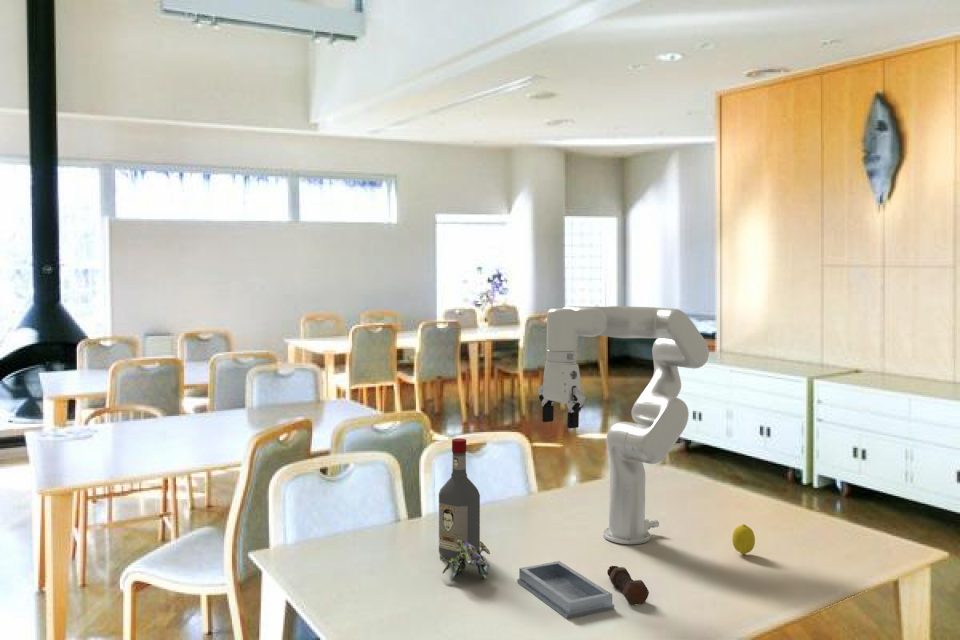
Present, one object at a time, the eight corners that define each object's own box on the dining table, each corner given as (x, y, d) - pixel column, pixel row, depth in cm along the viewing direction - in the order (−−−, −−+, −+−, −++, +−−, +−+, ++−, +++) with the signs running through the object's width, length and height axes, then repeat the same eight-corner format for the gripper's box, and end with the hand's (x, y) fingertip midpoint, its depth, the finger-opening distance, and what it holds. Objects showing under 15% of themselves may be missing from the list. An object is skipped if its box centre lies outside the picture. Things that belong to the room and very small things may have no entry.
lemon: (755, 553, 213) (756, 522, 212) (753, 560, 208) (753, 529, 207) (733, 549, 215) (734, 519, 215) (730, 556, 210) (731, 526, 210)
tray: (561, 574, 198) (561, 560, 198) (614, 608, 179) (614, 593, 178) (517, 582, 193) (517, 568, 193) (567, 619, 173) (567, 603, 173)
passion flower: (482, 600, 196) (500, 570, 190) (439, 599, 192) (457, 567, 186) (473, 561, 205) (490, 530, 198) (432, 558, 201) (448, 527, 194)
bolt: (616, 586, 196) (640, 610, 181) (598, 577, 195) (621, 601, 180) (627, 564, 196) (653, 587, 181) (610, 555, 195) (634, 577, 181)
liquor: (455, 547, 217) (455, 434, 215) (484, 554, 212) (484, 439, 210) (434, 557, 210) (433, 440, 208) (462, 564, 204) (462, 445, 202)
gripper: (596, 359, 202) (594, 428, 203) (550, 353, 216) (549, 417, 218) (572, 361, 198) (571, 432, 199) (528, 354, 212) (527, 420, 213)
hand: (560, 424), depth 208 cm, fingers open, 9 cm apart
